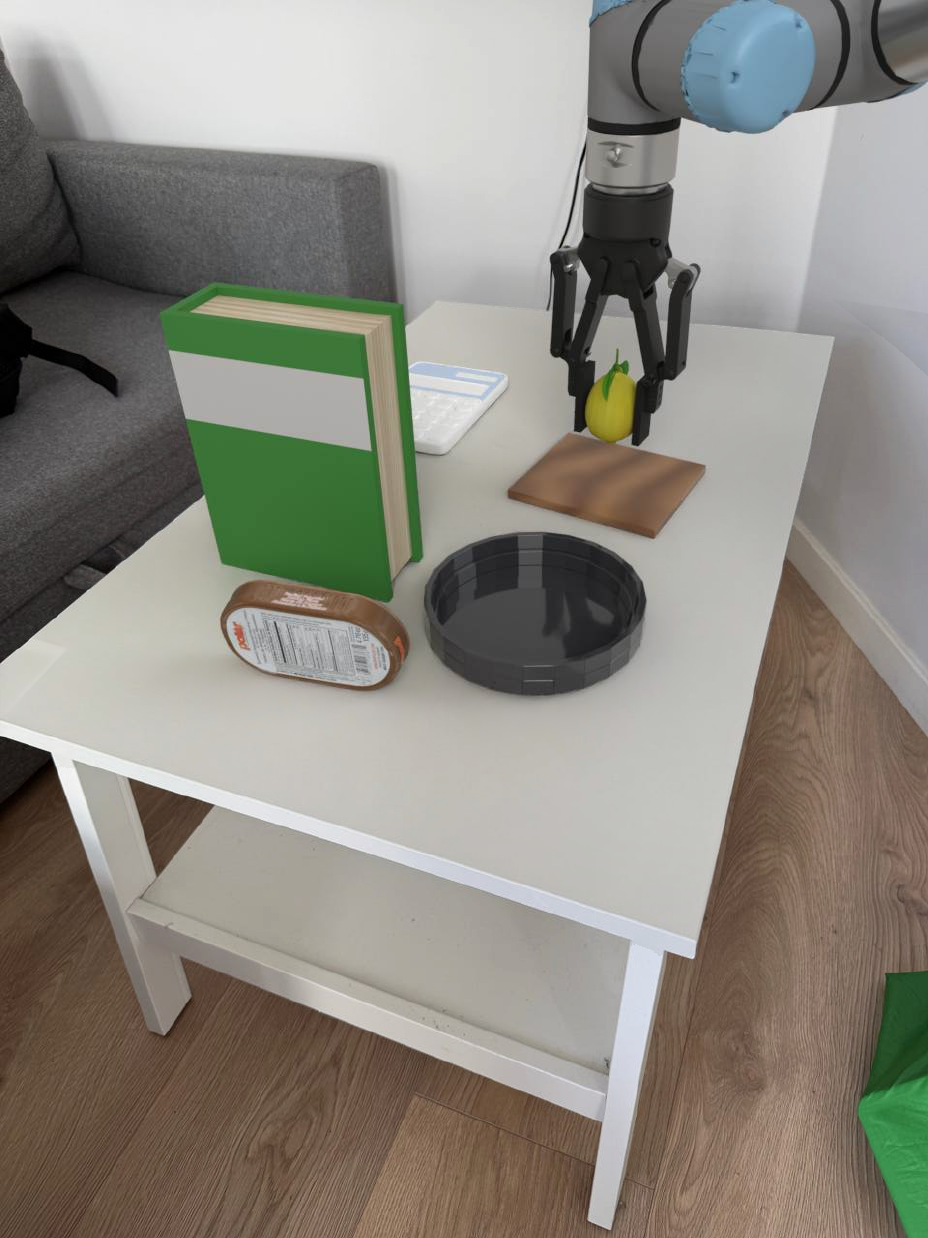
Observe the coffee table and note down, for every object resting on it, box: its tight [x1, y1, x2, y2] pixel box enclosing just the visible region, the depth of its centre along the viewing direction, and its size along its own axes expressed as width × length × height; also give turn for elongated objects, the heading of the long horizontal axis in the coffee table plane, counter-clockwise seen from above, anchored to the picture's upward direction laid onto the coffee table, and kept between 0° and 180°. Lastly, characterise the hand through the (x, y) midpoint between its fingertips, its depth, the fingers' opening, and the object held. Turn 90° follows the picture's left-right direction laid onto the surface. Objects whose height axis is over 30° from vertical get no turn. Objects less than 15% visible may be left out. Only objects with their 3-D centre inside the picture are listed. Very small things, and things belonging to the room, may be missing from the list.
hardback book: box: [159, 281, 424, 603], centre depth 79 cm, size 18×7×24 cm, turn 67°
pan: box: [423, 531, 648, 697], centre depth 77 cm, size 18×18×4 cm
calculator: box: [408, 360, 509, 456], centre depth 109 cm, size 13×20×2 cm, turn 156°
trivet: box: [507, 432, 707, 539], centre depth 95 cm, size 16×14×1 cm
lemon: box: [585, 347, 637, 445], centre depth 89 cm, size 7×6×10 cm
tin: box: [219, 579, 411, 692], centre depth 71 cm, size 15×3×8 cm, turn 74°
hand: (611, 432), depth 91 cm, fingers closed on lemon, 5 cm apart
